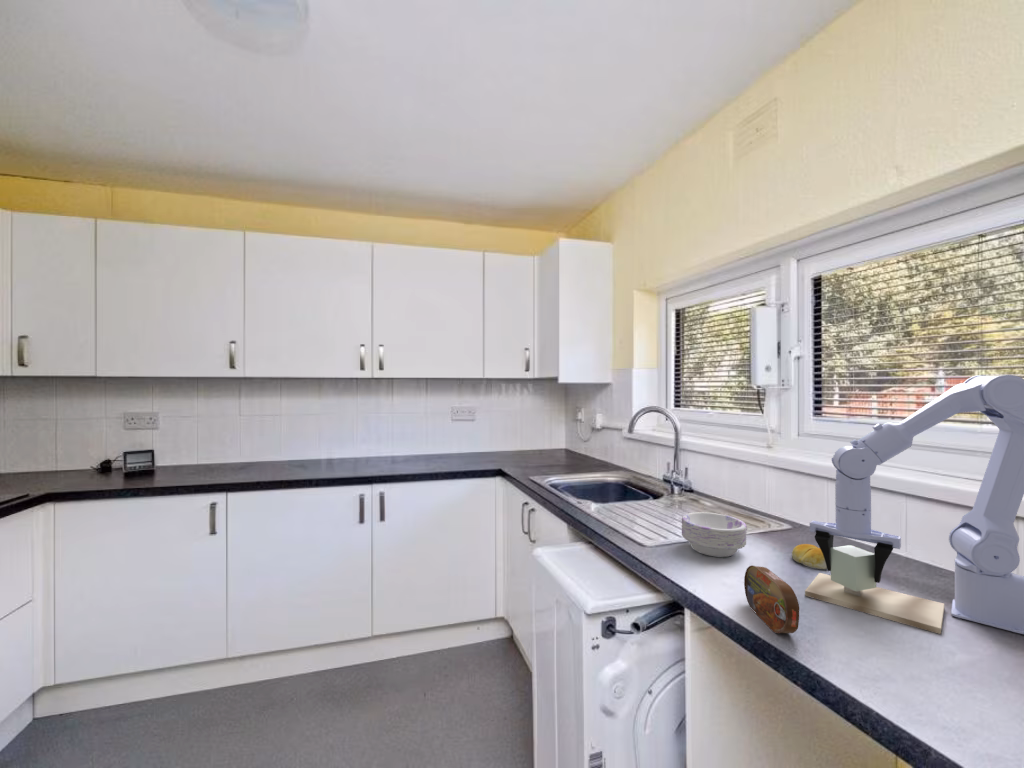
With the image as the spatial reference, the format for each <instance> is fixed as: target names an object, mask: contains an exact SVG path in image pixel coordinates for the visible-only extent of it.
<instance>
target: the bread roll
mask: <svg viewBox="0 0 1024 768" xmlns="http://www.w3.org/2000/svg"><path fill="white" fill-rule="evenodd" d="M791 557H792V559H793V561H794V562H797V563H798V564H801V565H803V566H805V567H808V568H812V569H816V570H827V566H826V562H825V559H824V556H823V553H822V551H821V549H820V547H819V546H818V547H817V546H816V545H815V544H811V543H810V544H809V543H801V544H798V545H795V546H794V547H793V549H792V552H791Z"/></svg>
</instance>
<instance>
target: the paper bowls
mask: <svg viewBox="0 0 1024 768" xmlns="http://www.w3.org/2000/svg"><path fill="white" fill-rule="evenodd" d="M747 529H748V527H747V524H746V523H745V521H743V520H741V519H739V518H737V517H734V516H730V515H727V514H722V513H716V512H706V511H704V512H703V511H699V512H698V511H697V512H690V513H689V512H688V513H685V514H684V515H682V518H681V535H682V538H683V539H684V540H685V541H687V542H689V544H690V546H691V548H692V549H693V550H694V551H696V552H697V553H699V554H702V555H705V556H708V557H714V558H715V557H716V558H727V557H728V558H729V557H731V556H734V555H735V554H736V553H737V551H738V550H739V549H743V548H745V547H746V545H747V540H748V539H747V534H748V533H747Z"/></svg>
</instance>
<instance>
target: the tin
mask: <svg viewBox="0 0 1024 768" xmlns="http://www.w3.org/2000/svg"><path fill="white" fill-rule="evenodd" d="M743 581H744V582H743V583H744V584H743V585H744V593H745V599H746V600H747V601H746V602H747V605H748V607H751V608H752V609H753V610H754V611H755V612H756V613H755V612H754V611H753V610H752V609H751V608H750V609H751V610H752V611H753V612H754V613H755V615H756V616H757V617H759V618H760V619H761V620H762V621H763V623H764V624H765V623H766V624H765V625H766V626H767V627H768V628H769V629H770V630H771V631H772V632H773V633H775V634H793V633H796V632H797V631H798V630H799V624H800V603H799V600H798V598H797V597H798V596H797V595H796V592H795V591H794V589H793V588H792V587H791V586H790V585H789V583H787V582H786V581H785V580H783V579H782V578H781V577H779V576H778V575H777V574H776V573H774V572H773V571H772V570H770V569H769V568H767V567H766V566H757V565H749V566H748V567H747V568H746V570H745V573H744V579H743Z"/></svg>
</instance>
